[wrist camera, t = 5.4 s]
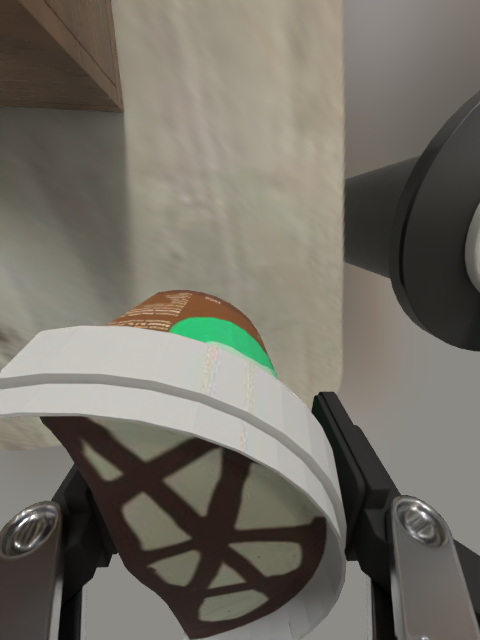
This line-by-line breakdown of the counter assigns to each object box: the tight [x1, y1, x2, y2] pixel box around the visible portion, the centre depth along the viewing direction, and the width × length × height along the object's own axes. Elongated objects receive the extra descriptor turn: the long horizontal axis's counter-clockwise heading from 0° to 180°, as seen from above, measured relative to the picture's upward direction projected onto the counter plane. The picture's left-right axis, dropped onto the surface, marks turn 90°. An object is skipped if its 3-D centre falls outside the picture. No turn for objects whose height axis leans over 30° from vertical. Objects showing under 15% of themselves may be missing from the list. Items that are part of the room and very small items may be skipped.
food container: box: [0, 290, 347, 640], centre depth 10 cm, size 12×6×10 cm, turn 12°
